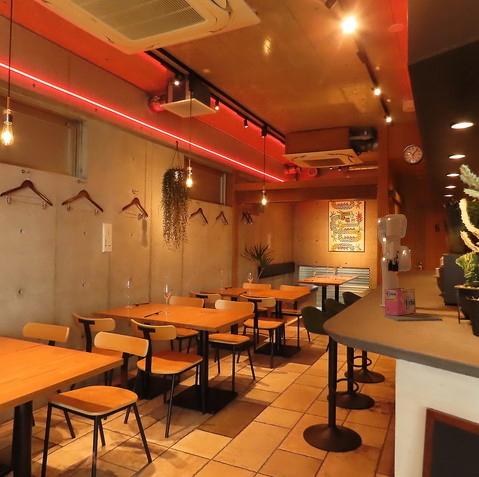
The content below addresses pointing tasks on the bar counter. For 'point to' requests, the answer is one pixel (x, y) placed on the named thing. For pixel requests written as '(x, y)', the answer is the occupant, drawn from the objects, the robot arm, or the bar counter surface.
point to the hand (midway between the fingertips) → (393, 270)
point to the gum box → (399, 301)
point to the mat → (413, 317)
